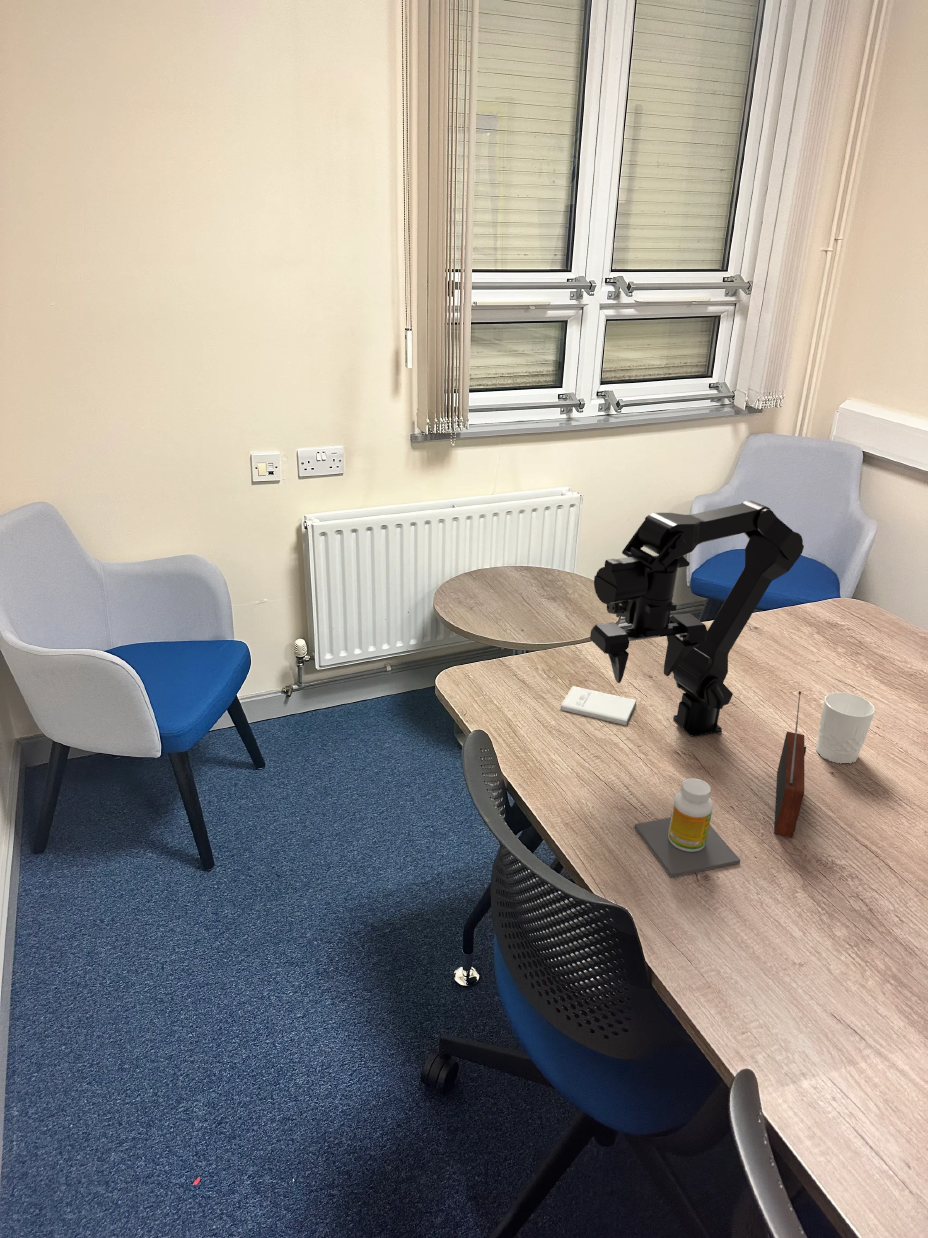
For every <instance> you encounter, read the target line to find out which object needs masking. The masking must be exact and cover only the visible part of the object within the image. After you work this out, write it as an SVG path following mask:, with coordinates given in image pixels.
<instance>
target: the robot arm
mask: <svg viewBox="0 0 928 1238" xmlns="http://www.w3.org/2000/svg"><path fill="white" fill-rule="evenodd" d="M741 534H744V535H745V536H746V538H748V542H747V543H746V545H745V548H744V567H743V570H742V571H741V572H740V574H739V576H738V579H737V580H736V581H735V583H734V584H733V586H732V589H731V590H730V591H729V593H728V595H727V597H726V599H725V600H724V602H723V603H722V605H721V607H720V609H719V611H718V612H717V614H716V615H715V617H714V619H713V621H712V623H711V624H710V626H709V627H708V629H707V626H706V625H705V624H704V623H703V622H702V621H700V620H699V619H698V618H696V616H695V615H692V614H691V613H689V612H688V613H682V614H681V613H680V614H673V615H671V612H674V611H677V606H678V605H677V603H675V602H674V601H673V600H674V594H675V588H676V582H677V581H676V580H677V577H678V576H677V574H678V569H681V568H686V567H689V566H690V562H689V561H688V560H687V558H685V557H684V556H686V555H688V554H691V553H692V552H693V551H694V550H695V549H696V548H697V546H699V545H701V544H703V543H707V542H711V541H715V540H719V539H724V538H729V537H733V536H736V535H741ZM803 543H804V541H803V538H802V535H801V534H800V533H799V532H796V531H794V530H792V528H790V526H788V525H787V524H785V523H784V522H783V520H781V519H780V518H778V516H777V515H776V514H775V513H774V511H773V510H771V508H770V507H769V506H766V505H764V504H761V503H758V502H755V501H753V500H745V501H742V502H741V503H740V504H739V503H737V504H734V505H728V506H724V507H721V508H716V509H711V510H706V511H702V512H697V513H692V514H683V513H673V512H653V513H650V514H647V516H645V518H644V521H642V523H641V524H640V525H639V527H638V529H637V530H636V531H635V532H634V534H633V535H632V537H631V538H630V540H629V541H628V543H627V544H626V545H625V547H624V548H623V549H622V551H621V554H622V555H624V556H626V557H621V558H617V559H616V558H610V559H606V560H604V566H603V567H600V568H598V570H597V572H596V573H595V575H594V577H593V585H594V591H595V594H596V597H597V598H598V599H599V600H600V602H601V603H602V604H604V605H606V611H607V613H608V614H612V615H616V618H620V617H621V618H624V622H625V623H626V624H627V625H631V627H630V628H624V629H622V627H620V626H619V625H618V624H617V623H616V622H607V623H599V624H598V623H597V624H595V625H594V626H592V628H591V629H590V635H589V640H591V641H592V643H594V644H595V646H596V647H598V648H599V649H600V650H601V651H602V653H604V654H606V655H608V658H609V661H610V665H611V668H612V672H613V676H614V680H615V682H616V683H617V684H621V682H622V680H623V678H624V674H625V670H626V667H627V663H628V658H629V655H630V653H629V652H628V651H627V649H628V648H629V647H630V642H632V641H641V640H648V639H656V638H662V637H663V638H664V637H666V640H667V647H666V652H665V658H664V663H663V674H664V676H665V677H669V676H670V675H671V674H673V679H674V681H675V683H676V688H678V689H681V691H683V693H682V694H681V701H679V703H678V707H677V713H676V714H675V715H673V718H672V719H673V720H674V721H675V722H676V723H677V724H678V725H679V726H680V727H681V728H682V729H683V730H684V732H685V733H687V734H688V735H689V736H690V737H696V736H704V735H709V734H710V735H711V734H715V733H721V732H722V731H723V728H722V727H721V725H719V724H718V723H719V717H720V712H721V710H723V707H724V706H727V705H729V704H730V702H731V700H732V697H733V695H734V693H733V692H732V691H731V690H730V689H729V688H728V687H727V686H726V684H725V683H724V682H725V680H726V679H727V676H728V674H729V654H730V652H731V650H732V648H733V646H734V645H735V644H736V641H737V640H738V638H739V637H740V635H741V633H742V632H743V629H744V628H745V627H746V625H747V624H748V622H749V620H750V618H751V617H752V615H753V613H754V612H755V610H756V608H757V607H758V605H759V603H760V601H761V599H763V597H764V596H765V595H764V594H765V593H766V591H767V589H768V588H769V586H770V585H771V583H772V582H773V581H774V580H777V579H778V578H779V577H782V576H784V575H785V574H787V573H788V572H789V571H790V570H791V569H792V568H793V566H794V564H796V562H797V561H798V559H799V558H800V557H801V556H802V553H803V551H804V549H805V548H804V547H805V545H804V544H803ZM642 548H646V549H647V550H649V551H651V552H653V553H655V554H657V555H652V554H651V553H649V552H647V551H646V550H643V549H642Z"/></svg>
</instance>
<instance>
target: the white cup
mask: <svg viewBox="0 0 928 1238" xmlns="http://www.w3.org/2000/svg"><path fill="white" fill-rule="evenodd" d="M823 699H824V700H823V704H822V711H821V715H820V721H819V727H818V732H817V740H816V743H815V744H816V746H815V749H816V752H818V753H819V754H820V757H821V758H823V759H825V760H827V759H828V760H827V761H829V762H831V761H832V762H831V763H834V762H835V764H839V763H840V764H839V765H842V764H841V763H850V764H852V762H853V763H855V762H856V761H857V760H858V758H859V756H860V752H861V749H862V748H863V746H864V743H865V740H866V738H867V735H868V732H869V729H870V726H871V723H872V721H873V718H874V715H875V713H876V708H875V706H874V704H873V703H872V702H870V701H869V700H868V699H866V698H864V697H863V696H860V695H857V694H854V693H850V692H844V691H842V692H841V691H836V692H830V693H828V694H826V695H825V697H824V698H823ZM818 753H817V754H818ZM819 754H818V755H819Z"/></svg>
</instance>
